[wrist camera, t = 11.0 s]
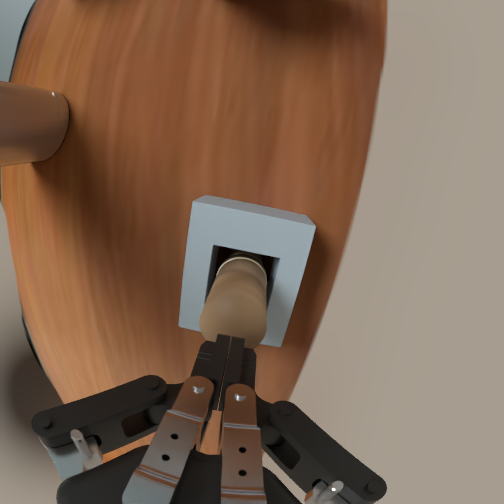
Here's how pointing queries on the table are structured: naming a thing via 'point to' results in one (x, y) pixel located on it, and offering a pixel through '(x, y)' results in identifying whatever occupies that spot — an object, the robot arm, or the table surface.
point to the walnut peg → (237, 300)
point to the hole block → (252, 240)
